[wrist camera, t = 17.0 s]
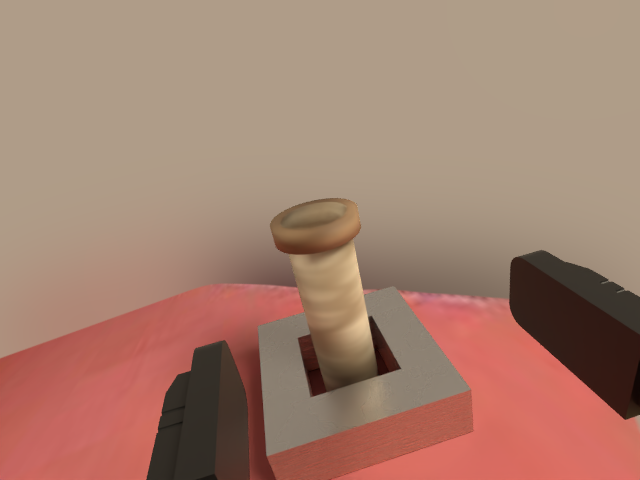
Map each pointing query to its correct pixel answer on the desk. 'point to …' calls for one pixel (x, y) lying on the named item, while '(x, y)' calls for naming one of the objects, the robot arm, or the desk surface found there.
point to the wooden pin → (329, 286)
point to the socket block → (358, 396)
